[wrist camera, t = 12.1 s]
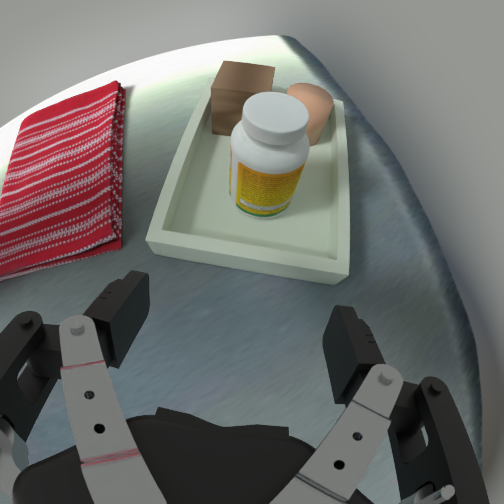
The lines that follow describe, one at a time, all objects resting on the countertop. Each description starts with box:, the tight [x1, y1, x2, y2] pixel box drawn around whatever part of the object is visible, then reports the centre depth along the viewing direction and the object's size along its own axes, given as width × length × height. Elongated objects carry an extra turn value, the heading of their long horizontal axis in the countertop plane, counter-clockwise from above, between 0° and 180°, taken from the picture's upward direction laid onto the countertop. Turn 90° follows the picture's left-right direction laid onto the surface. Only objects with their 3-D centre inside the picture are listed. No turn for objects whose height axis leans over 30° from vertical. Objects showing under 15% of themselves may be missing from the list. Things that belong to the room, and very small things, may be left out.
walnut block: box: [211, 61, 275, 137], centre depth 24 cm, size 5×5×6 cm
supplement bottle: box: [229, 92, 310, 219], centre depth 20 cm, size 5×5×10 cm
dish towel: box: [0, 80, 125, 281], centre depth 24 cm, size 17×24×3 cm
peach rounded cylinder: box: [287, 83, 334, 146], centre depth 25 cm, size 4×4×5 cm
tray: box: [146, 78, 350, 285], centre depth 25 cm, size 15×20×3 cm
